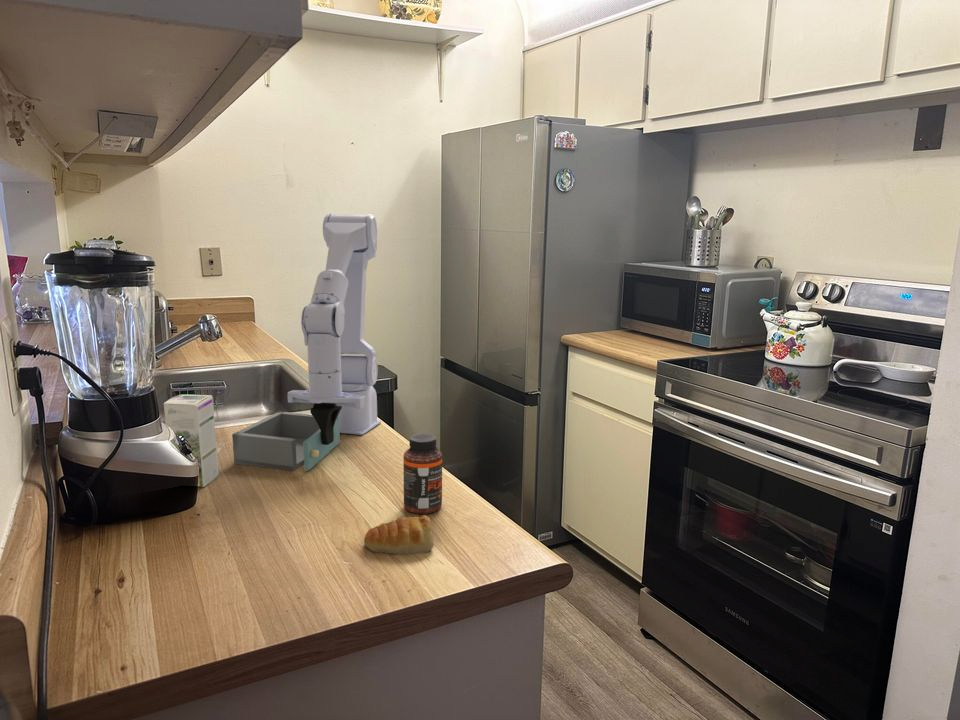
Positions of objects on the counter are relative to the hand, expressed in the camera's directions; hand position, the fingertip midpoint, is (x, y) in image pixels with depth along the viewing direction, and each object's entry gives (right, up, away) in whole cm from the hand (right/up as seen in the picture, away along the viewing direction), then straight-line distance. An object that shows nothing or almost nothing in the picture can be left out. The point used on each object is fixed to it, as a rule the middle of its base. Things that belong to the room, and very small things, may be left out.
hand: (327, 443), depth 124 cm
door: (-1, -3, +2) cm, 3 cm away
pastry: (+17, -11, -31) cm, 37 cm away
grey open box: (-8, -2, +3) cm, 9 cm away
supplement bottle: (+19, -8, -19) cm, 28 cm away
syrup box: (-20, -5, -10) cm, 23 cm away
